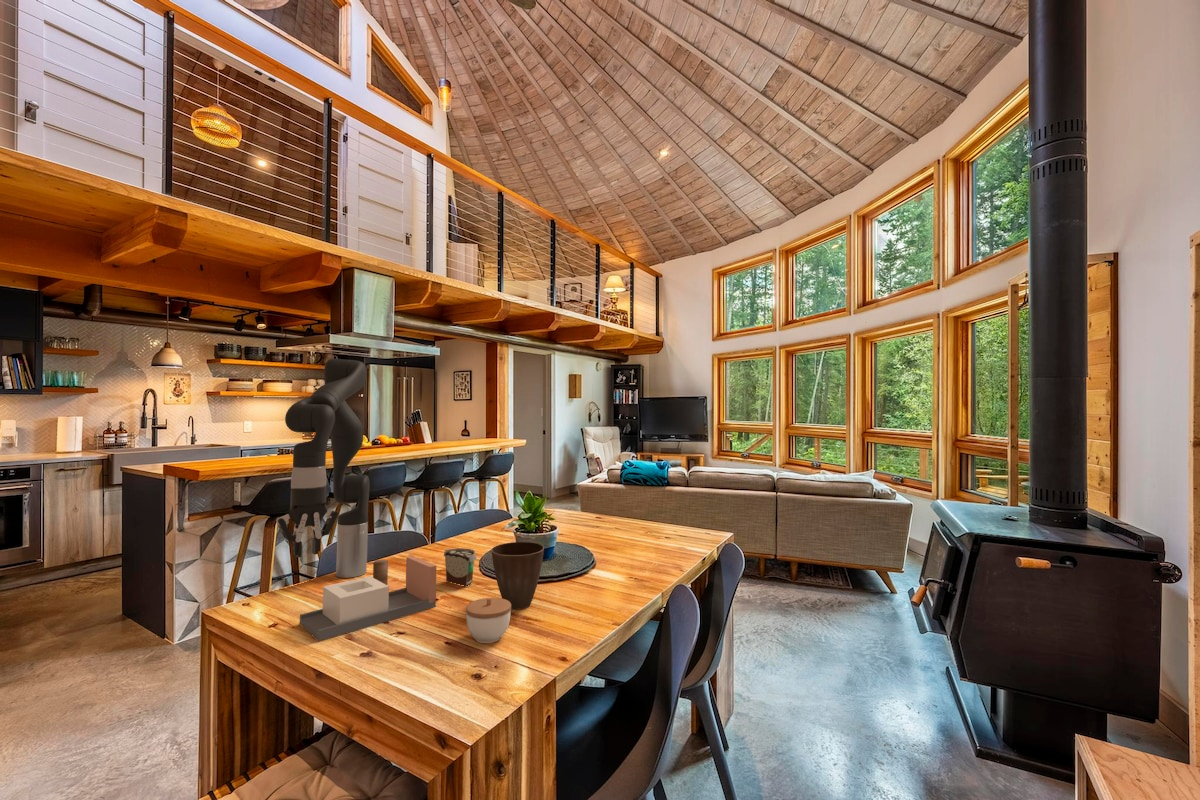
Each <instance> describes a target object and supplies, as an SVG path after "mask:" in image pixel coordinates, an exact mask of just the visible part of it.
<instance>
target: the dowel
mask: <svg viewBox="0 0 1200 800" xmlns="http://www.w3.org/2000/svg"><path fill="white" fill-rule="evenodd" d="M372 563H373V564H372V565H373V566H372V567H373V568H372V569H373V570H372V578H374V579H376V580H378V581H380V582H382V583H384V584H386V585H387V586H388V582H389V581H388V579H389V578H388V574H389V570H388V569H389V561H388V559H378V560H375V561H373V562H372Z"/></svg>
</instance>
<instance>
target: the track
mask: <svg viewBox="0 0 1200 800" xmlns="http://www.w3.org/2000/svg"><path fill="white" fill-rule="evenodd" d="M436 599H437V565H436V564H434V563H431V562H430V561H429V562H428V561H426V560H424V559H421V558H419V557H416V556H415V555H409V556H406V559H405V587H403V588H400V589H395V590H392V591H389V604H388V610H387V611H384V612H380V613H377V614H373V615H370V616H366V617H362V618H359V619H355V620H352V621H348V622H345V623H341V624H337V625H336V624H335V623H334V622H333V621H331V620H330V619H329V618H328V617H326V616H325V615H324V614H323V608H321V609H316V610H312V611H309V612H308V611H307V612H304V613H300V614H299V625H300V624H301V625H302V626H303V627H304V628H305V629H306V630H307V631H308V632H307V631H306V630H305V629H304V628H303V627H302V626H301V625H300V626H301V627H302V628H303V629H304V630H305V631H306V632H307V633H308V634H310V633H311V634H312V635H313V636H314V637H315V638H316V639H317V640H318V642H322V641H325V640H324V639H326V640H328V638H329V639H332V638H335V636H336V637H338V635H339V636H342V635H341V634H343V635H346V634H348V633H351V632H356V631H359V630H362V629H363V630H364V629H367V628H369V627H373V626H375V625H380V624H383V623H386V622H389V621H392V620H396V619H399V618H402V617H406V616H409V615H412V614H416V613H421V612H422V611H426V610H431V609H433V607H434V608H436V606H437V605H436V603H437V602H436ZM345 633H346V634H345ZM311 634H310V635H311ZM312 635H311V636H312ZM313 636H312V637H313ZM314 637H313V638H314ZM315 638H314V639H315ZM316 639H315V640H316ZM317 640H316V641H317ZM321 640H322V641H321Z"/></svg>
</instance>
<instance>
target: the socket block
mask: <svg viewBox="0 0 1200 800" xmlns="http://www.w3.org/2000/svg"><path fill="white" fill-rule="evenodd" d="M322 588H323V589H322V590H323V591H322V609H323V614H324V615H325V616H326V617H328V618H329V619H330V620H331V621H333V622H334V623H335V624H336V625H337V624H341V623H345V622H348V621H352V620H355V619H359V618H362V617H366V616H370V615H373V614H377V613H380V612H384V611H387V610H388V604H389V592H390V586H389V585H388V584H387V585H386V584H384V583H382V582H380V581H378V580H376V579H374V578H373V576H371V575H370V576H369V575H368V576H364V577H359V578H356V579H351V580H346V581H342V582H339V583H333V584H329V585H325V586H324V585H323V586H322Z"/></svg>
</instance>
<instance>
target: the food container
mask: <svg viewBox="0 0 1200 800" xmlns="http://www.w3.org/2000/svg"><path fill="white" fill-rule="evenodd" d="M475 551H476V550H474V549H471V548H463V547H461V548H450V549H449V548H448V549H445V550H444V553H443V557H444V560H445V563H444V565H445V582H446V581H448V582H452V583H456V584H460V585H464V586H468V585H470V584H471V583H472V584H473V577H474V576H473V575H474V568H475V567H474V566H475V561H477V554H476V552H475ZM448 582H447V583H448ZM452 583H451V584H452ZM456 584H455V585H456ZM472 584H471V585H472ZM471 585H470V586H471Z"/></svg>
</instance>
